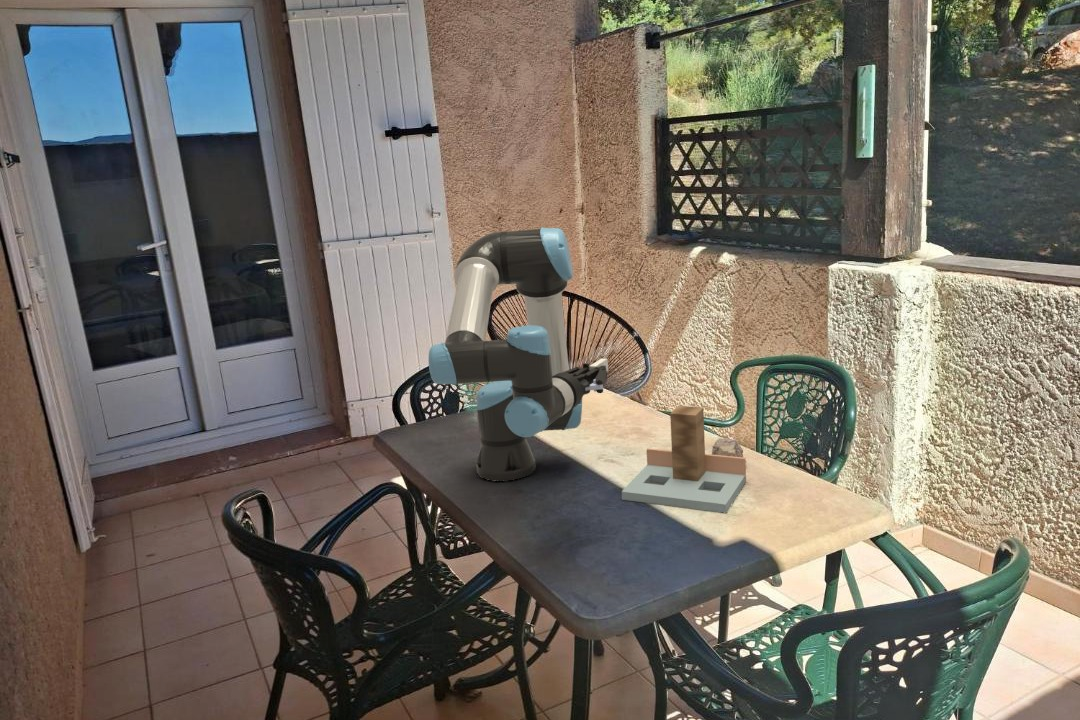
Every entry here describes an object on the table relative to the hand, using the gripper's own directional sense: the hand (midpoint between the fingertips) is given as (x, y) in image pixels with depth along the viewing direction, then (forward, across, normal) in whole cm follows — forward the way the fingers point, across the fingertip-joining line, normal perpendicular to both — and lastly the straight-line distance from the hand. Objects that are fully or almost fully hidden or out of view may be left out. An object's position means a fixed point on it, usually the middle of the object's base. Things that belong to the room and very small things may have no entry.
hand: (604, 364), depth 179 cm
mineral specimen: (+27, +20, -32) cm, 46 cm away
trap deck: (+8, +14, -32) cm, 36 cm away
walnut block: (+14, +14, -30) cm, 36 cm away
